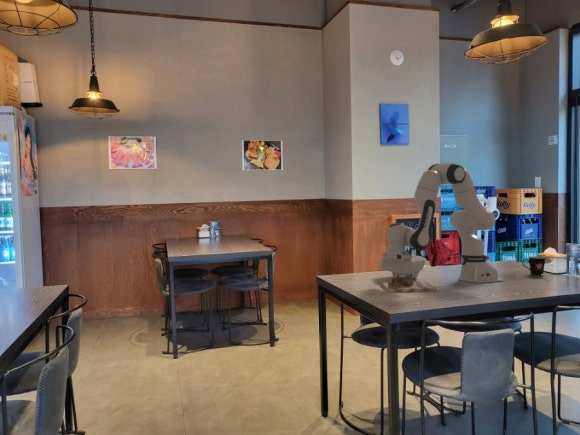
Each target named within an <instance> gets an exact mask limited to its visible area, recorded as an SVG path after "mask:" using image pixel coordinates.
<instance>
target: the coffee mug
mask: <svg viewBox="0 0 580 435" xmlns="http://www.w3.org/2000/svg"><path fill="white" fill-rule="evenodd" d="M526 261H527V262H528V263H529V267H528V266H526V265H525V264H524V262H526ZM545 262H546V257H545V256H528V259H524V260H522V266H523V267H525V268H526V269H527V270H529V271H530V275H531V274H534V275H533V276H538V275H540V276H542V275H541V274H543V275H544V270H545Z"/></svg>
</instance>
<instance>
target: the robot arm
mask: <svg viewBox="0 0 580 435" xmlns="http://www.w3.org/2000/svg"><path fill="white" fill-rule="evenodd" d="M441 185H451V190H452V194H453V196H454V200H455V203H456V204H457V206H458V207H460V208H461V209H460V210H455V211H453V212H452V214H451V216H450V219H449V220H450V224H451V225H452V227H454V229H455V230H456V231H457V233H458V236H459V238H460V241H461V242H460V243H461V255H460V265H461V267H460V274H459V277H458V279H459V280H460V281H462V282H469V283H476V284H477V283H478V284H480V283H482V284H483V283H494V282H495V283H496V282H503V278H502V277H500V276H499V272H498V269H497V268H496V267H495V266H493V265H492V264H490V262H487V261H489V260H491V259H490V258H491V257H490V255H485V254H484V241H483V239H481V238H480V237H479V236H478V235H477V233H476V231H487V230H491V229H493V228H494V226H495V224H496V216H495V215H494V212H491V210H488V209H487V208H486V207H485V206H484V205H483V204H482V202H481V201H480V199H479V197H478V195H477V192H476V189H475V185H474V183H473V180H472V178H471V175H470V173H469V171H468V170H467V169H465V168H464V166H463V165H461V164H459V163H450V162H445V163H435V164H431V166H429V167H428V169H427V170H426V171H424V172H423V174H422V175H421V177H420V179H419V180H418V183H417V185H416V189H415V192H414V198H413V199H414V202H415V204H416V205H417V206H418V208H420V218H419V222H418V226H417V228H416V229H414V228H411V227H409V226H408V225H406V224H404V223H403V222H393V223H391V224H389V226H388V228H387V234H386V236H387V239H386V240H387V248H386V250H387V252H384V253H383V254H382V255H381V256H382V257H381V261H380V263H381V264H380V269H381V270H383V271H387V272H391V274H392V278H396V277H399V276H400V273H401V274H406V275H408V274H411V273H412V261H411V260H410V259H412V256H413V255H412V254H411V253H409V252H407V251H406V249H405V248H406V247H408V248H411V249H414V250H417V251H424V250H426V249H427V248H428V247H429V246H430V244H431V240H432V238H431V230H432V227H433V226H432V225H433V221H434V217H435V212H436V201H437V198H438V194H439V190H440V186H441Z"/></svg>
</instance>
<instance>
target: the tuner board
mask: <svg viewBox="0 0 580 435" xmlns="http://www.w3.org/2000/svg"><path fill="white" fill-rule="evenodd" d="M380 285H381V287H383V289H384V290H386V291H387V292H388V293H390V294H391V293H393V294H394V293H420V292H421V293H423V292H426V293H427V292H429V293H430V292H437V291H438V288H437V287H436V286H433V285H432V284H430V283H429V282H427V281H413V285H401V286H399V284H398V283H392V281H388V282H381V284H380Z"/></svg>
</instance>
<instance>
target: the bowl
mask: <svg viewBox="0 0 580 435" xmlns="http://www.w3.org/2000/svg"><path fill="white" fill-rule="evenodd" d="M410 260H411V261H412V273H413V279H417V278H418V276H419V274H420V272H421V271H423V270H424V269H423V268H424V266H425V264H426V263H427V258H425V257H424V256H420V255H412V259H410ZM399 277H405V274H401V273H400V276H399Z"/></svg>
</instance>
